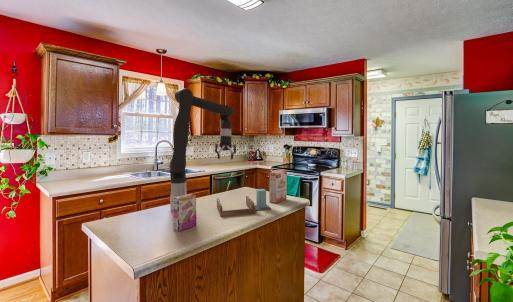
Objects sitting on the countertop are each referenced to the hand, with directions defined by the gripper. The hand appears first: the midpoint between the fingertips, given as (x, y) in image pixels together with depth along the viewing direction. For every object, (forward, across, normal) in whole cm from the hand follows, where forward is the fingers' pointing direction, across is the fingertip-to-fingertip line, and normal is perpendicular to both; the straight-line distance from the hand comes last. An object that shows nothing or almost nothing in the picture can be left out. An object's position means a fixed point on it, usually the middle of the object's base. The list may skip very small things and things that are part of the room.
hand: (225, 159), depth 183 cm
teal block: (+30, +21, -18) cm, 41 cm away
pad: (+30, +21, -18) cm, 41 cm away
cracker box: (+28, +37, -5) cm, 47 cm away
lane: (+31, +4, -18) cm, 36 cm away
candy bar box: (+35, -25, -41) cm, 59 cm away
